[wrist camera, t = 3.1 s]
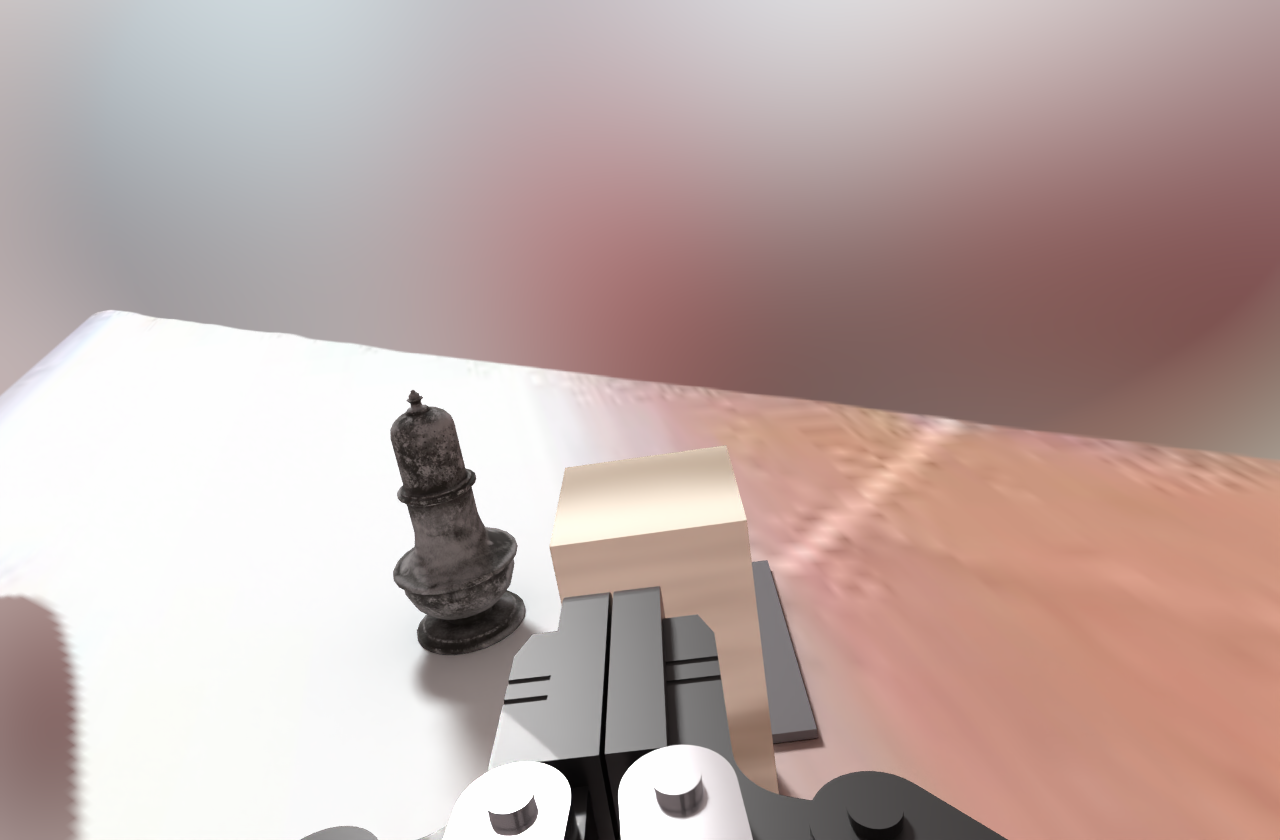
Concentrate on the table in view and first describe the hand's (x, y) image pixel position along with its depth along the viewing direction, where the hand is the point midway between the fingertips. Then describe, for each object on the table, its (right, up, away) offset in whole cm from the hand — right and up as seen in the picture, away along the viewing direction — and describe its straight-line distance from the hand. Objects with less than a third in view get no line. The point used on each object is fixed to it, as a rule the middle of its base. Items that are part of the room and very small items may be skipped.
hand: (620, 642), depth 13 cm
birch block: (+2, -10, +14) cm, 18 cm away
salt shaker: (-8, -7, +28) cm, 30 cm away
